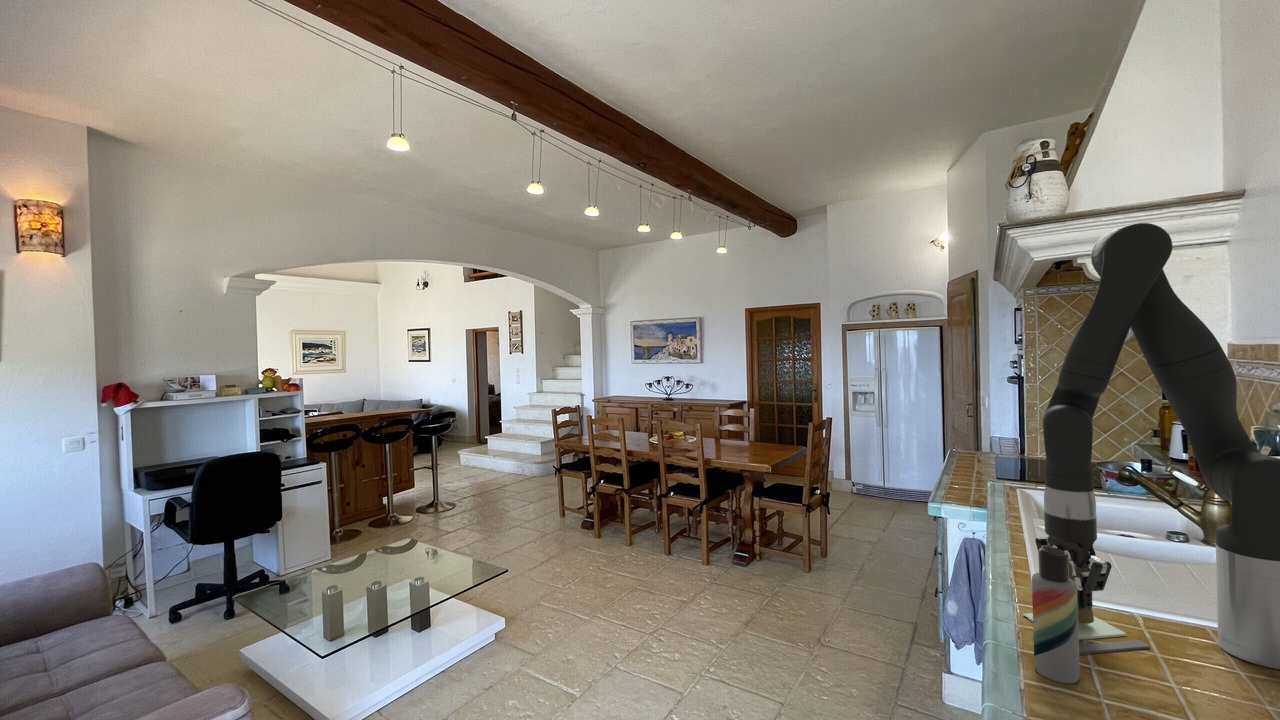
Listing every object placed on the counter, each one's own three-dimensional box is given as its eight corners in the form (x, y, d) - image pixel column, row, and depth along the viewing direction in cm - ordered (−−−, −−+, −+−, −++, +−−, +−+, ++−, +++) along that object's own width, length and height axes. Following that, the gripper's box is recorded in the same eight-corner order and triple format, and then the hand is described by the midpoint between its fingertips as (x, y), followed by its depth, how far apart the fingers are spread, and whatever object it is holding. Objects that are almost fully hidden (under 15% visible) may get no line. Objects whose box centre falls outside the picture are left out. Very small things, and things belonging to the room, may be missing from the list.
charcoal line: (1138, 641, 92) (1138, 639, 92) (1149, 648, 90) (1149, 646, 90) (1051, 649, 91) (1051, 647, 91) (1061, 656, 89) (1061, 653, 89)
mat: (1080, 611, 103) (1080, 609, 103) (1126, 635, 94) (1126, 633, 94) (1022, 615, 102) (1022, 613, 102) (1063, 641, 93) (1063, 638, 93)
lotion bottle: (1035, 658, 88) (1031, 540, 88) (1079, 670, 85) (1076, 547, 84) (1033, 675, 84) (1029, 551, 84) (1079, 689, 80) (1076, 558, 80)
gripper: (1126, 522, 91) (1129, 621, 91) (1055, 499, 105) (1058, 585, 105) (1085, 525, 90) (1088, 624, 90) (1020, 502, 104) (1022, 588, 105)
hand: (1072, 603), depth 98 cm, fingers closed on cork, 4 cm apart
